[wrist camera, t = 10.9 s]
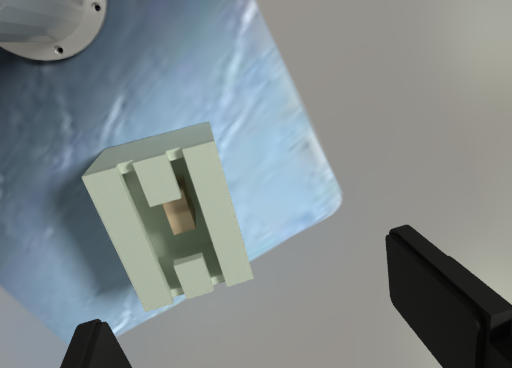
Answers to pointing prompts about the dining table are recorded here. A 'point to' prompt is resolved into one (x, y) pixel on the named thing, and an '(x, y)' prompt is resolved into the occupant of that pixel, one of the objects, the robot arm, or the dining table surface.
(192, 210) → the block
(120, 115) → the dining table surface
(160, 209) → the box
